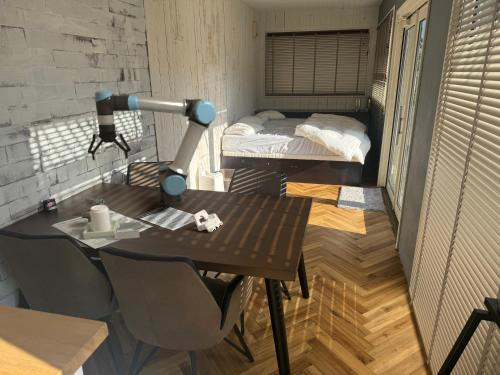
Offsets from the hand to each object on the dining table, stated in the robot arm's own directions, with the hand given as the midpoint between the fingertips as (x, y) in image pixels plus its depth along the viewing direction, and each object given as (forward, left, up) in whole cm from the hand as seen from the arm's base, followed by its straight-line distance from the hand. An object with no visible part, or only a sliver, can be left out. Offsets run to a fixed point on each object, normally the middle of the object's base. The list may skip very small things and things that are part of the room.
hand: (111, 165), depth 176 cm
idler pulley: (+12, +7, -29) cm, 32 cm away
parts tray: (+5, +17, -29) cm, 34 cm away
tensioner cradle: (-8, +21, -29) cm, 36 cm away
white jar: (+5, +17, -28) cm, 33 cm away
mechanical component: (+11, -5, -29) cm, 31 cm away
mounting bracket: (-46, +23, -29) cm, 59 cm away
